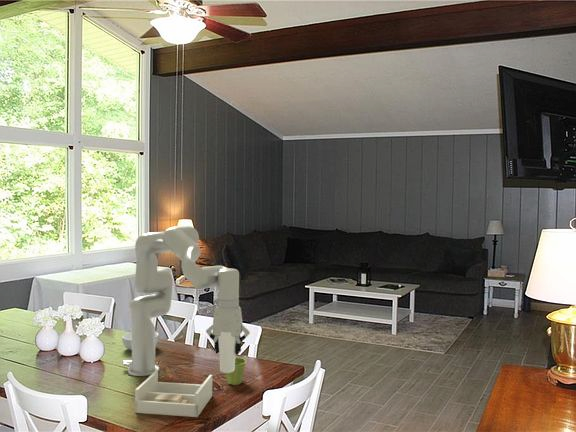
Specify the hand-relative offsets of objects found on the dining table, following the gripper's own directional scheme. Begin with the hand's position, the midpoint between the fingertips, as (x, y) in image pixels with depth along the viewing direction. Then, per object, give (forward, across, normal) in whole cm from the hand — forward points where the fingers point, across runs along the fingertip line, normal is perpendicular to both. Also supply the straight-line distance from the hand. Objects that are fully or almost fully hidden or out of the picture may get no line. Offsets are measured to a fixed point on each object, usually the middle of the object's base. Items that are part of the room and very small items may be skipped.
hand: (227, 352), depth 196 cm
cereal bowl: (+19, -55, +56) cm, 81 cm away
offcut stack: (+19, -18, -8) cm, 28 cm away
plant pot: (+19, -2, +21) cm, 28 cm away
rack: (+18, -18, -3) cm, 26 cm away
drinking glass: (+7, 0, 0) cm, 7 cm away
